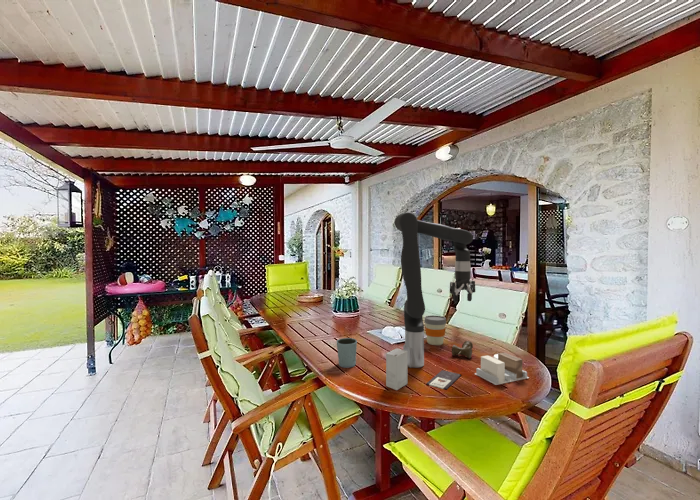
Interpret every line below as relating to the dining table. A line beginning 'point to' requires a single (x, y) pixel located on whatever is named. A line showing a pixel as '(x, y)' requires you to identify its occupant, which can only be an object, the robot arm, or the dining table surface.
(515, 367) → the brown rectangular block
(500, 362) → the cream rectangular block
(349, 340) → the grey cup
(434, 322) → the reusable coffee cup
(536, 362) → the dining table surface
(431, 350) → the dining table surface
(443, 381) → the chocolate bar
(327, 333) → the dining table surface
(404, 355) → the skincare box
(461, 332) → the dining table surface
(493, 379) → the dish rack
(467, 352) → the kendama
